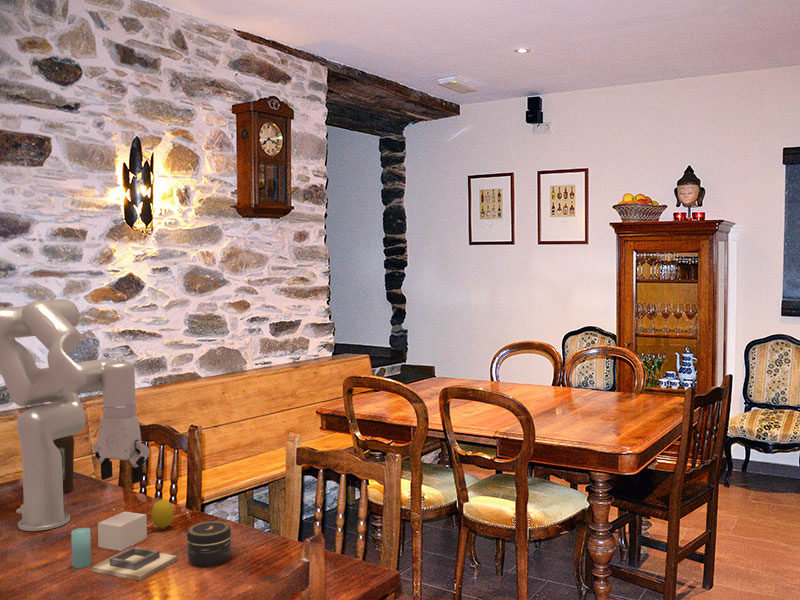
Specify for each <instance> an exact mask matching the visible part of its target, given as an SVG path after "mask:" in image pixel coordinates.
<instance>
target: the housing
mask: <svg viewBox="0 0 800 600" xmlns="http://www.w3.org/2000/svg"><path fill="white" fill-rule="evenodd" d="M147 523H148V522H147V514H144V513H137V512H131V511H123V512H120V513H118V514H115V515H113V516H111V517H108V518H107V519H104V520H102V521H100V522H97V537H98V538H97V541H98V548H100V549H107V550H113V551H117V550H118V552H123V551H125V550H127V549H129V548H131V547H132V546H133V545H136V544H137V543H138V544H139V543H140V542H142V541H144V540H146V539H148V533H147V531H148V530H147V528H148V527H147Z"/></svg>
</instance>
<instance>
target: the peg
mask: <svg viewBox="0 0 800 600" xmlns="http://www.w3.org/2000/svg"><path fill="white" fill-rule="evenodd" d="M70 535H71V556H72V557H71V561H72V562H71V566H72V568H73V567H74V568H73V569H84V567H85V568H88V567H90V566H91V565H92V544H91V543H92V540H91V528H90V527H79V528H74V529H73V530H71V534H70ZM87 566H88V567H87Z"/></svg>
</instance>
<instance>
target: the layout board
mask: <svg viewBox="0 0 800 600" xmlns="http://www.w3.org/2000/svg"><path fill="white" fill-rule="evenodd" d="M176 560H177V561H178V556H177V555H174V554H173V555H172V554H167V553H162V552H160V550H154V549H149V548H143V547H137V546H133V547H132V546H131V547H128V548H126V549H124V550H122V551H120V552H119V553H117V554H114V555H113V556H110V557H109V558H107V559H105V560H103V561H101V562H99V563H97V564H95V565H93V566H91V572H93V573H97V574H103V575H108V576H113V577H118V578H123V579H127V578H128V579H129V580H132V579H133V581H137V580H138V582H141V580H142V581H143V580H145V579H146V578H149V577H150V576H152V575H153V574H156V573H157V572H159V571H161V570H162V569H164V568H166V567H168V566H169V565H171V564H173V563H174V562H177V561H176Z"/></svg>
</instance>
